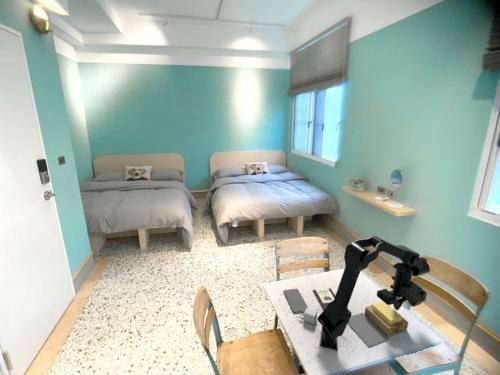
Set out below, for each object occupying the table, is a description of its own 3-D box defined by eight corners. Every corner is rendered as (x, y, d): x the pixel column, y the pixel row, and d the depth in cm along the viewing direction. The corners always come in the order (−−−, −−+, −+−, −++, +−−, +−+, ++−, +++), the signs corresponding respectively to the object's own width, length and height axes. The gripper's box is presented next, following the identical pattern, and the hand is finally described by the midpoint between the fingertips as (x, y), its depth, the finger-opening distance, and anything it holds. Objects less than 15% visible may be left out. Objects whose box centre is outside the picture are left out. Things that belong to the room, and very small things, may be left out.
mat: (362, 313, 109) (362, 312, 109) (389, 339, 97) (389, 338, 97) (343, 319, 106) (343, 318, 106) (368, 347, 94) (368, 346, 93)
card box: (383, 305, 108) (383, 301, 108) (401, 320, 100) (402, 316, 100) (372, 308, 107) (372, 304, 106) (389, 324, 98) (390, 320, 98)
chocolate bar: (328, 318, 106) (313, 290, 123) (328, 320, 106) (312, 291, 123) (349, 316, 107) (330, 288, 124) (348, 318, 107) (330, 289, 124)
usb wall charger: (313, 325, 103) (314, 317, 102) (297, 318, 107) (298, 310, 106) (316, 318, 107) (317, 310, 106) (300, 312, 110) (301, 304, 109)
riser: (382, 309, 112) (383, 301, 110) (406, 330, 101) (408, 322, 100) (364, 314, 108) (365, 307, 107) (387, 337, 98) (388, 329, 96)
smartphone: (297, 288, 124) (309, 310, 110) (297, 289, 125) (309, 312, 111) (282, 290, 123) (293, 312, 109) (282, 291, 123) (293, 314, 109)
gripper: (403, 296, 90) (395, 330, 95) (440, 285, 96) (431, 318, 101) (378, 277, 100) (373, 309, 105) (413, 268, 106) (406, 299, 111)
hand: (396, 309), depth 105 cm, fingers closed
